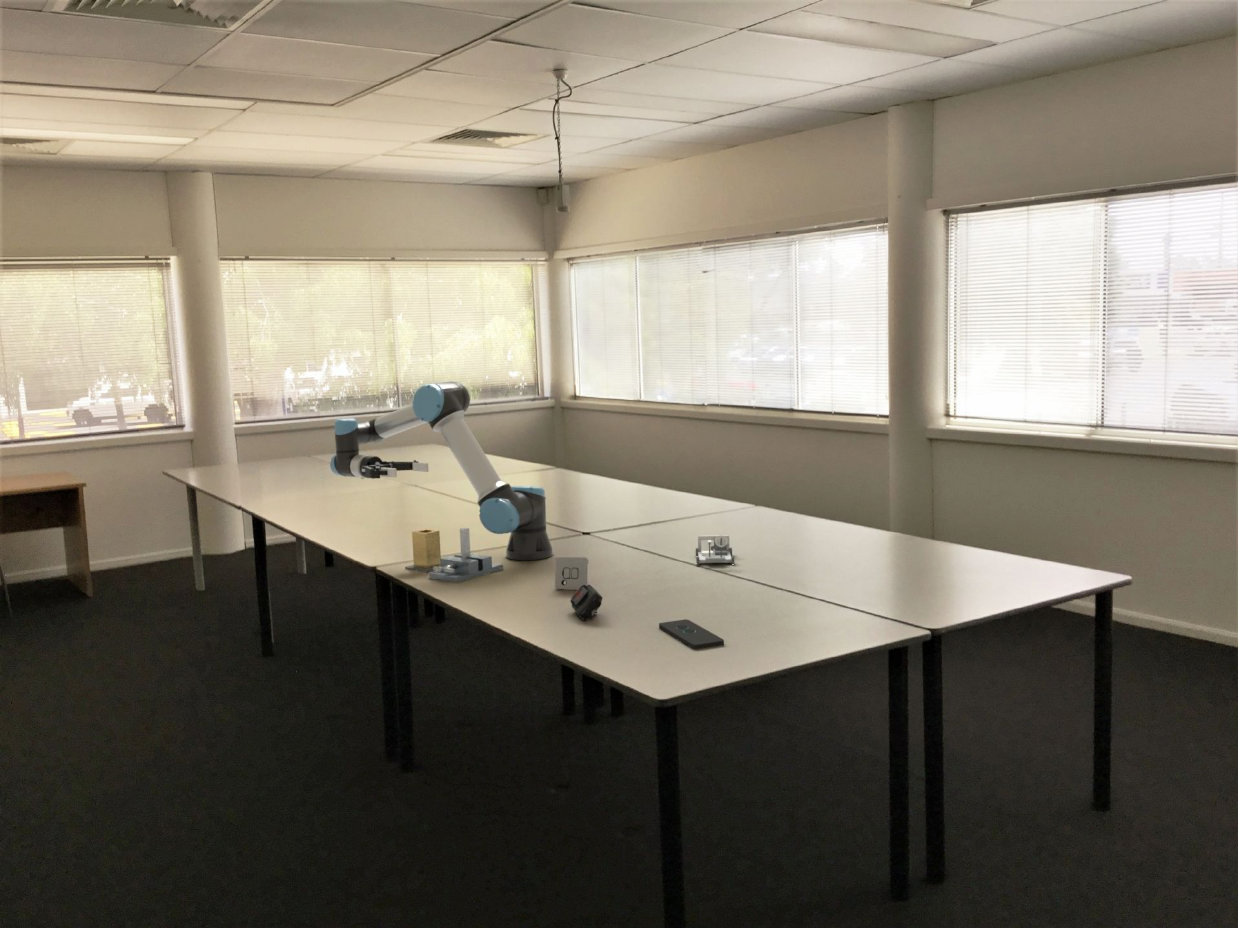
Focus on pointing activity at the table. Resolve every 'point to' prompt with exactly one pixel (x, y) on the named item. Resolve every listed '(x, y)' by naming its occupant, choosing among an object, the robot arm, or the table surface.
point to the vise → (464, 563)
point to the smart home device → (691, 634)
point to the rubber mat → (420, 568)
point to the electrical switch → (571, 572)
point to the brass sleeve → (426, 548)
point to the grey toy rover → (714, 549)
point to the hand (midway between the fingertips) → (411, 470)
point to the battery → (586, 601)
